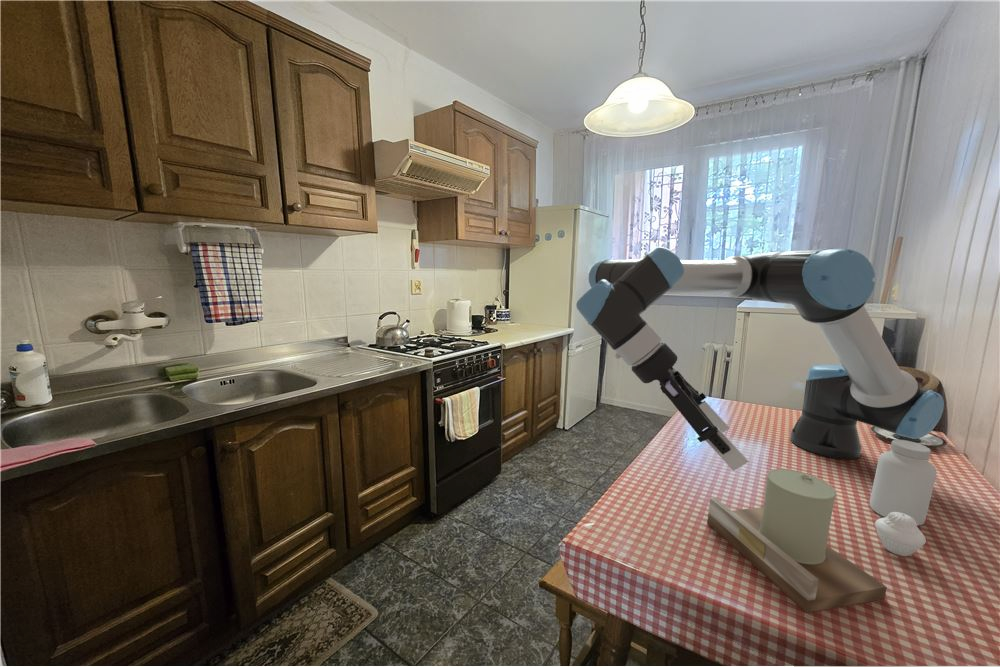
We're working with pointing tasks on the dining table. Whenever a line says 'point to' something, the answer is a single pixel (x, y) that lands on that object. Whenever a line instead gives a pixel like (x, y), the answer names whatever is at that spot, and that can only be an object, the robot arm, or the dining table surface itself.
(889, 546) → the muffin
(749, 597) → the dining table surface
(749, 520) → the shelf
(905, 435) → the robot arm
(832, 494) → the can
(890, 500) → the pill bottle
